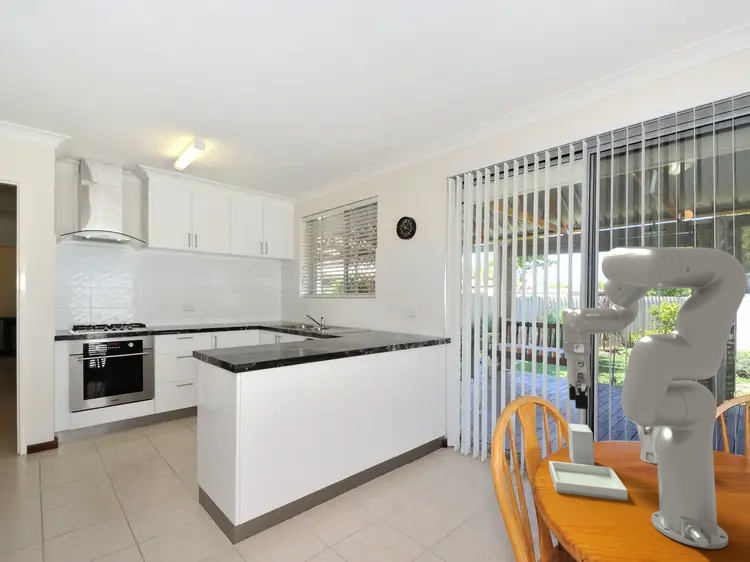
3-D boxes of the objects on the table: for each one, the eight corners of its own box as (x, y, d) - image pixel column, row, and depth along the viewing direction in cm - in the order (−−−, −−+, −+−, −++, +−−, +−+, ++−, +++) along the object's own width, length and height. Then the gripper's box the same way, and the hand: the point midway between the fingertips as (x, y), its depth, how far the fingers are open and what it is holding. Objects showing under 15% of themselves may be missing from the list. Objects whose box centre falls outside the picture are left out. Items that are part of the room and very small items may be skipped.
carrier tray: (627, 500, 95) (627, 490, 95) (556, 492, 99) (555, 482, 100) (611, 476, 108) (611, 467, 108) (549, 469, 113) (548, 460, 113)
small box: (594, 469, 113) (593, 432, 113) (573, 467, 115) (571, 430, 115) (589, 459, 120) (587, 424, 121) (569, 456, 122) (567, 422, 123)
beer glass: (671, 464, 115) (669, 413, 116) (648, 465, 116) (645, 413, 116) (655, 455, 122) (652, 407, 123) (633, 455, 122) (630, 407, 123)
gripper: (597, 352, 110) (599, 413, 110) (584, 345, 127) (585, 398, 126) (568, 351, 113) (569, 411, 112) (558, 344, 129) (560, 396, 128)
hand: (578, 404), depth 119 cm, fingers open, 9 cm apart
